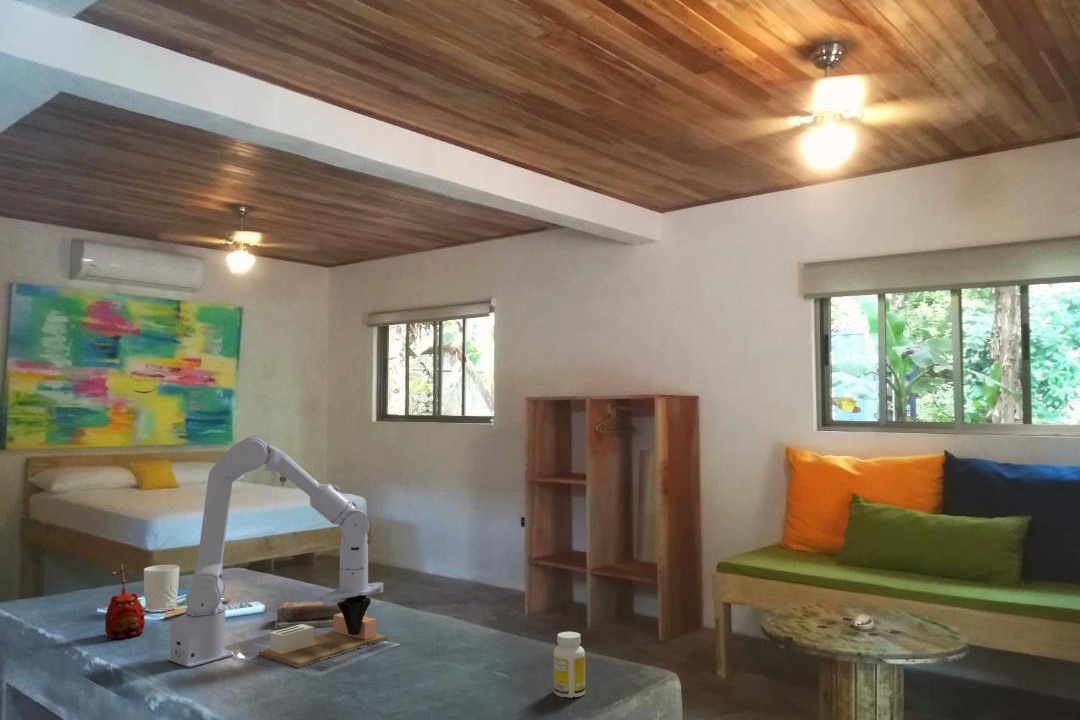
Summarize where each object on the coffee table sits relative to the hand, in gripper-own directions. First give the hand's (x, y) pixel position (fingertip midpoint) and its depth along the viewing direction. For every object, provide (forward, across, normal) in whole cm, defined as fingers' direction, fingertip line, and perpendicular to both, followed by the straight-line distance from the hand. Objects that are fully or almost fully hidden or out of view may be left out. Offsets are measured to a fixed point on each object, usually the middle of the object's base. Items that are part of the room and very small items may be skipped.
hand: (353, 634), depth 165 cm
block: (+1, +4, +3) cm, 5 cm away
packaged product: (+3, +7, +20) cm, 21 cm away
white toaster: (+2, -11, +6) cm, 12 cm away
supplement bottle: (+2, +3, -52) cm, 52 cm away
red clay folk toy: (+2, -25, +45) cm, 51 cm away
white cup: (+2, -9, +60) cm, 61 cm away
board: (+2, -5, +3) cm, 6 cm away
